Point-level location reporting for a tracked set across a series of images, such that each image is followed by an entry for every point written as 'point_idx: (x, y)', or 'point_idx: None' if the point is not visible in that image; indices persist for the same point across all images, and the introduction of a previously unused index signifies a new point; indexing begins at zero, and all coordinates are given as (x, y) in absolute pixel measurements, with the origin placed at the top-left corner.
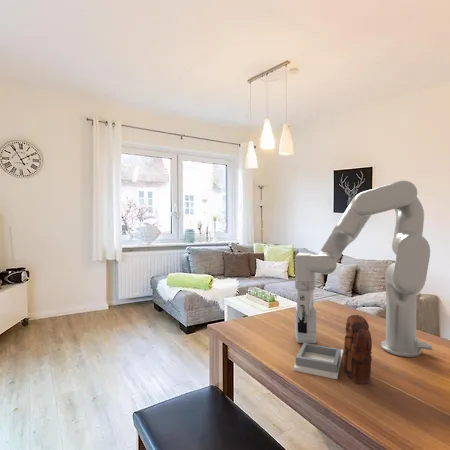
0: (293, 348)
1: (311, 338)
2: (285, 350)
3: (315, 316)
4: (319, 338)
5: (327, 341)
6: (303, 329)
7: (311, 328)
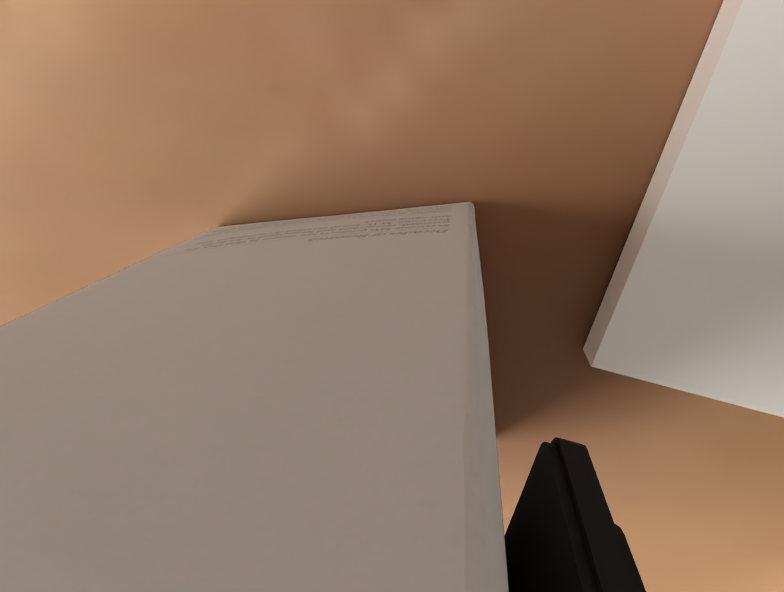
0: (670, 497)
1: (483, 293)
2: (733, 580)
3: (491, 506)
4: (261, 133)
5: (352, 6)
6: (627, 554)
7: (489, 373)
